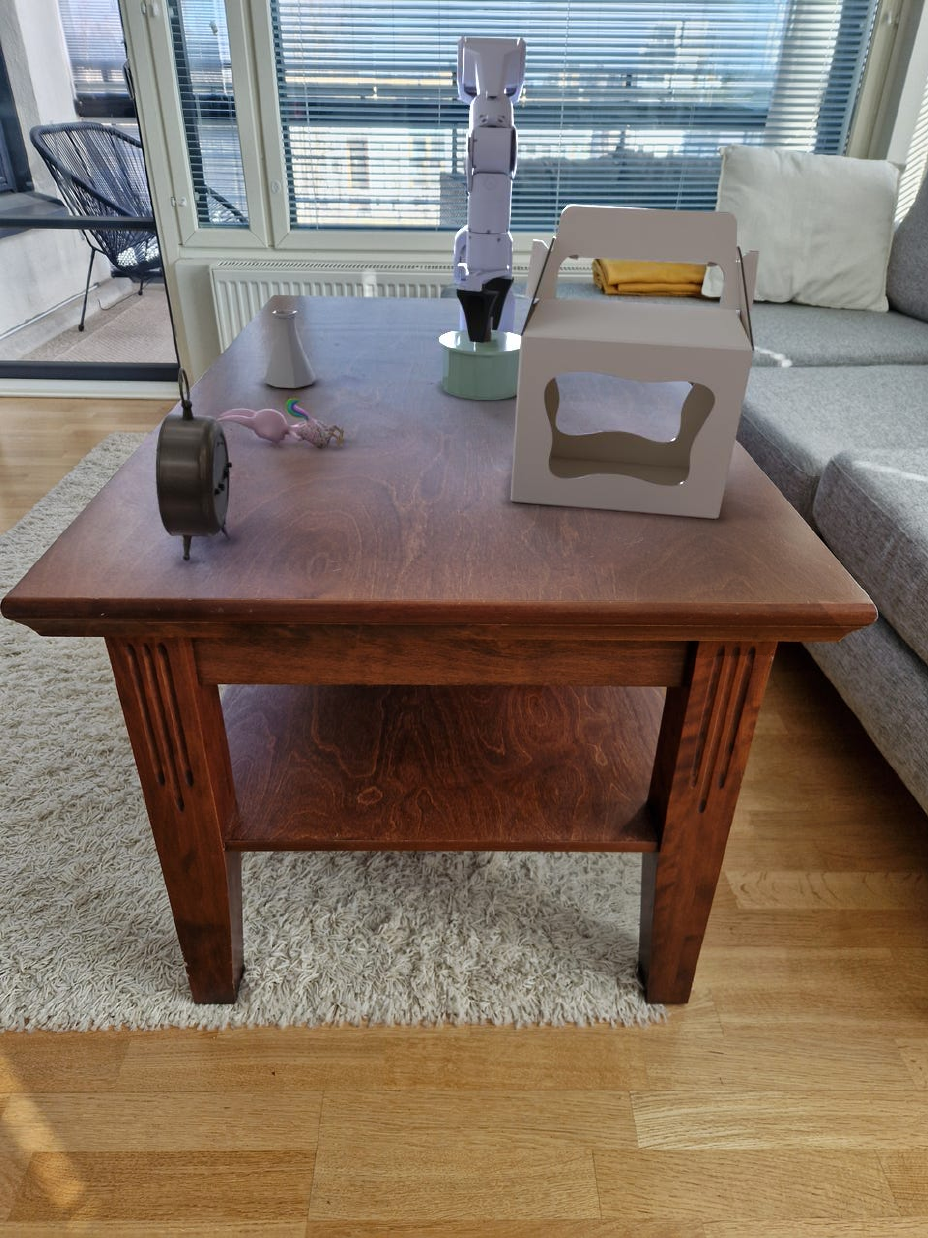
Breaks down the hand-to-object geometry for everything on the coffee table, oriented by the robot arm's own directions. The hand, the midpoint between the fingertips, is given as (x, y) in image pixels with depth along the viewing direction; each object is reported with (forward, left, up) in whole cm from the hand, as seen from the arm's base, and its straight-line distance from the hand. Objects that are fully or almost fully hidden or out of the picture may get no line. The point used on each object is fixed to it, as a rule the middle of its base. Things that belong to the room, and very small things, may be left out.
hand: (484, 335), depth 118 cm
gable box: (+15, +35, -8) cm, 39 cm away
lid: (0, 0, -1) cm, 1 cm away
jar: (0, 0, -8) cm, 8 cm away
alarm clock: (+55, +17, -8) cm, 58 cm away
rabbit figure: (+35, 0, -8) cm, 36 cm away
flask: (+20, -20, -8) cm, 29 cm away
